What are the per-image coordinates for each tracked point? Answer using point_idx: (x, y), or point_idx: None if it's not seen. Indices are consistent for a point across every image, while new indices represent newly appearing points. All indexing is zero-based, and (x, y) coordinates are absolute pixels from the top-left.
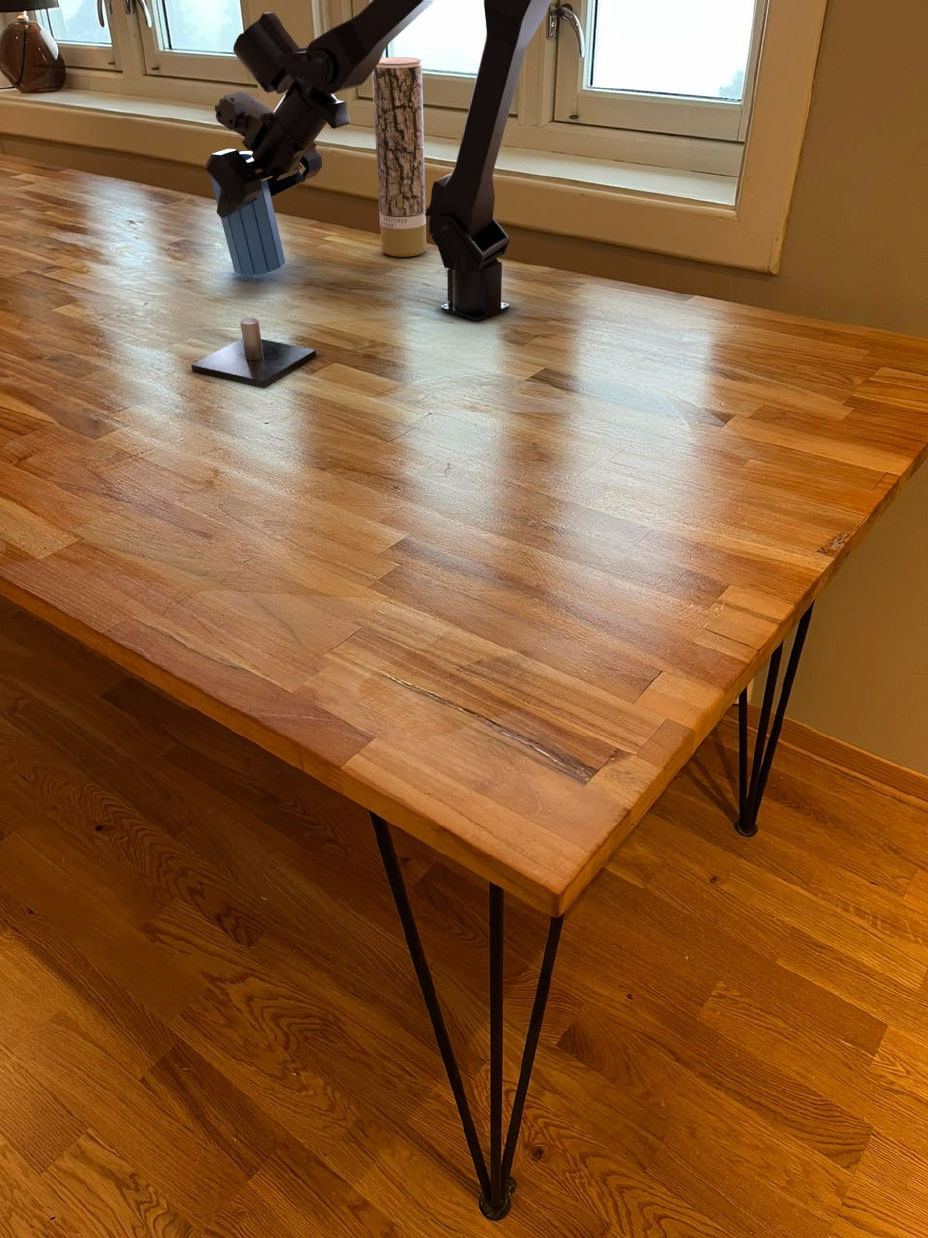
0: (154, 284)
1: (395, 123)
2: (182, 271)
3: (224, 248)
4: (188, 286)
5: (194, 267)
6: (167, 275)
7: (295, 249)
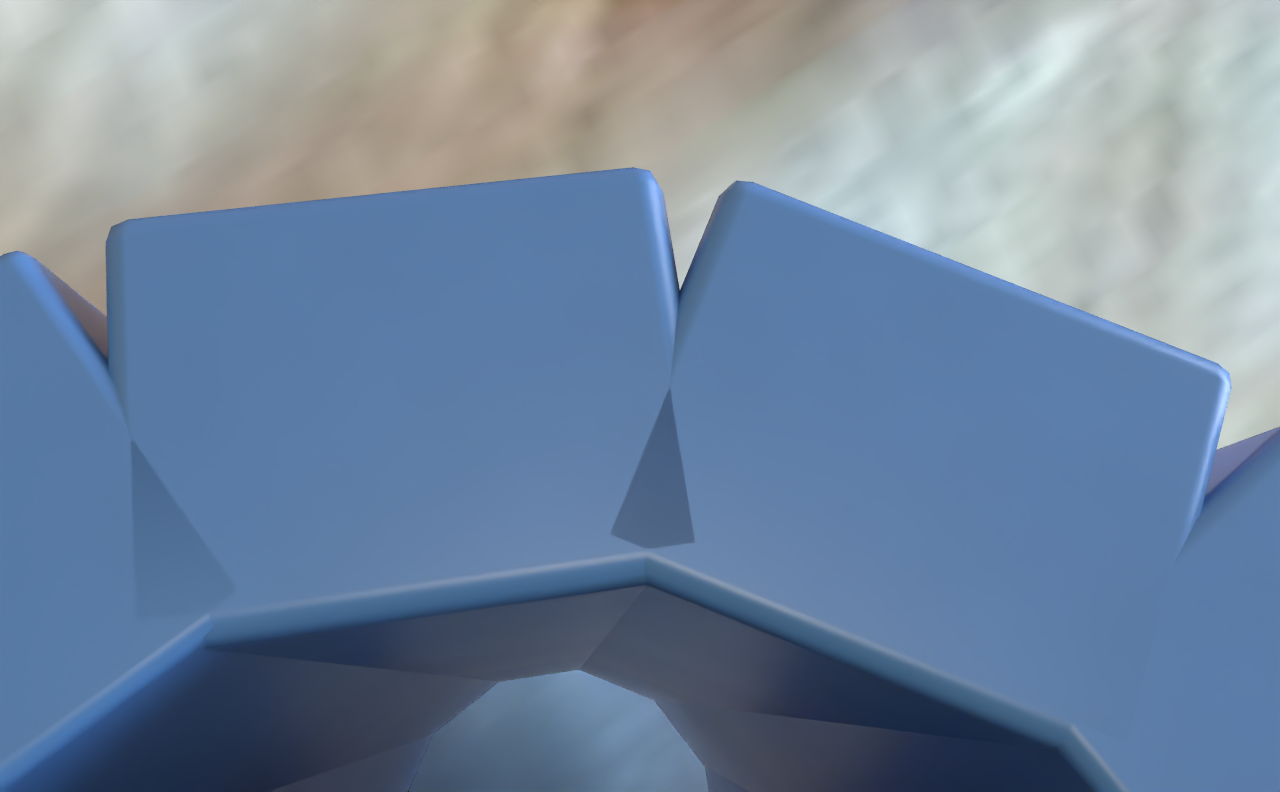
0: (2, 122)
1: None
2: (385, 147)
3: (1009, 136)
4: None
5: (511, 179)
6: (251, 93)
7: None
